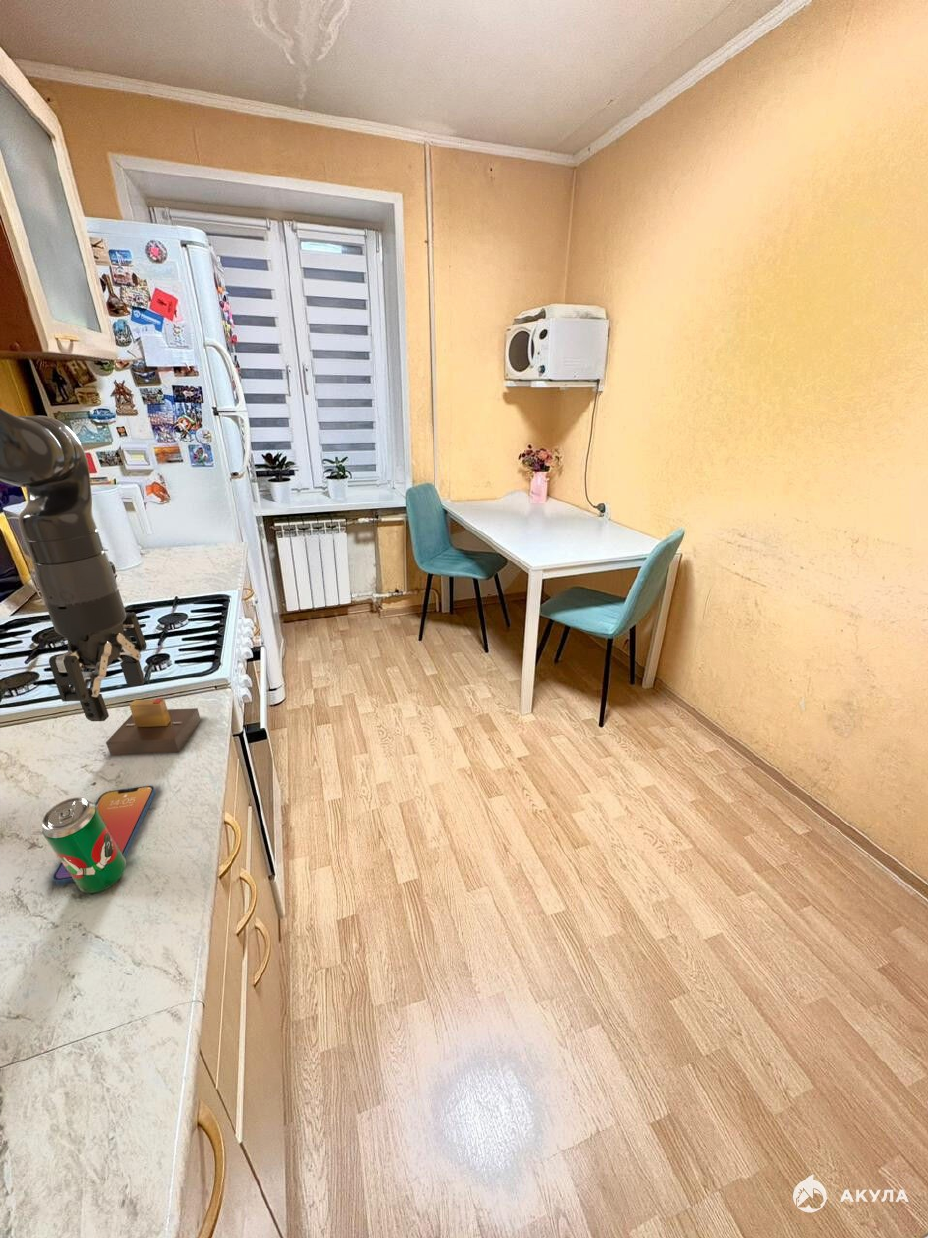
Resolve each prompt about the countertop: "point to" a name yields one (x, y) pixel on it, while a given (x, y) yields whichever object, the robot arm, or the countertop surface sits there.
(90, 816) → the soda can
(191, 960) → the countertop surface
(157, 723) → the lock knob
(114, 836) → the smartphone
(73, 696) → the robot arm
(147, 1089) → the countertop surface
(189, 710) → the plate
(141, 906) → the countertop surface
